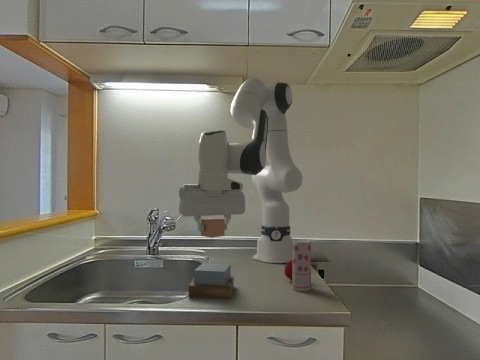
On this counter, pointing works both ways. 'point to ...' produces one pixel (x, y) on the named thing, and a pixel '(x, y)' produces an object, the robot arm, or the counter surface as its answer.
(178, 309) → the counter surface
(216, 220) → the rust cube
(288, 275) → the onion
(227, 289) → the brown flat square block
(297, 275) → the beverage can
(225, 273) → the grey block
